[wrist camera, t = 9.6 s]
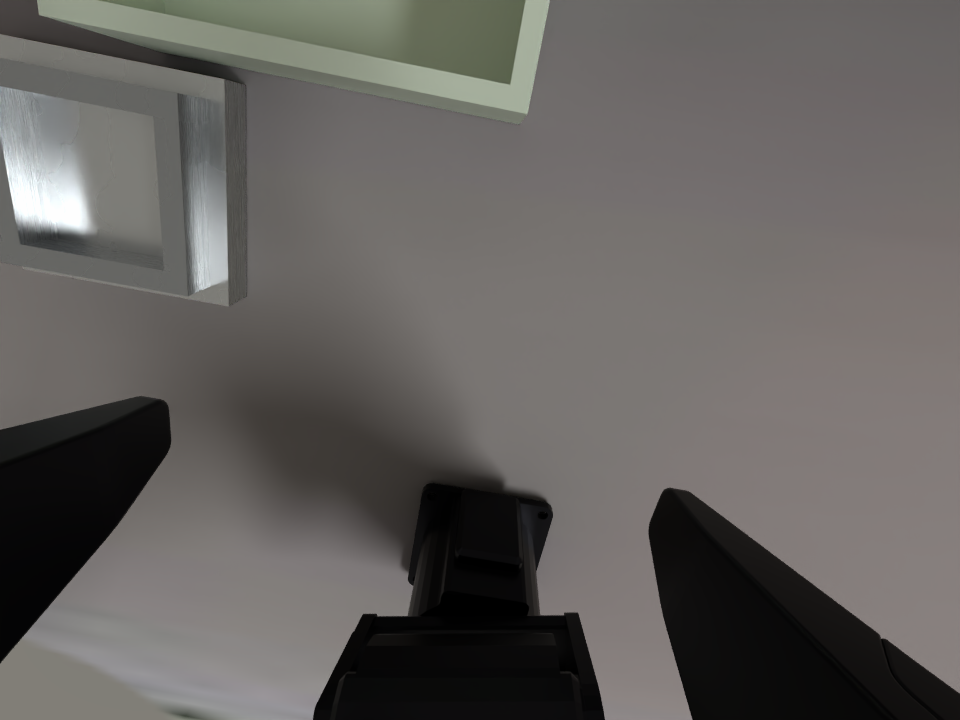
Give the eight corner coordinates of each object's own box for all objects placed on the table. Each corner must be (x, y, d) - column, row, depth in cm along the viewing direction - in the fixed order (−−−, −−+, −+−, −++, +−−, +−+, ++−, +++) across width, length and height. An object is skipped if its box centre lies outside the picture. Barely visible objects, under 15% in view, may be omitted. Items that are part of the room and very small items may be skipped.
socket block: (246, 296, 21) (208, 318, 18) (54, 261, 20) (-15, 278, 18) (245, 85, 18) (198, 71, 15) (19, 39, 17) (-71, 17, 15)
